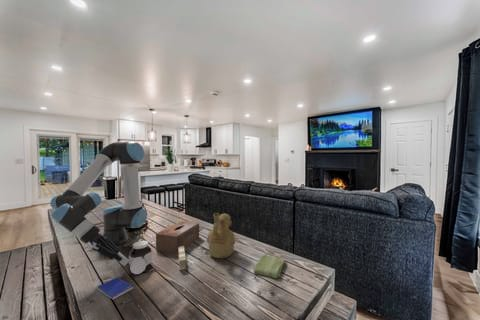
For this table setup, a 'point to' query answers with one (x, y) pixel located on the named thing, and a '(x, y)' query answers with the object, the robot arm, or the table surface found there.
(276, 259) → the washcloth
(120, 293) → the hard drive
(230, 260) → the table surface
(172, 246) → the tissue box cover
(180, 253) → the ash stop
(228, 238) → the ceramic vessel
